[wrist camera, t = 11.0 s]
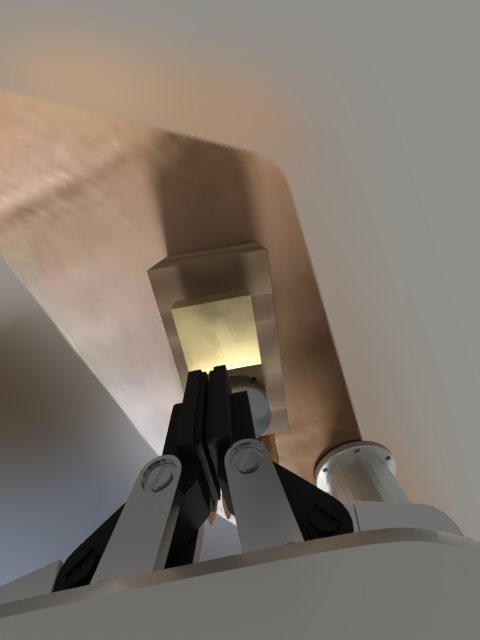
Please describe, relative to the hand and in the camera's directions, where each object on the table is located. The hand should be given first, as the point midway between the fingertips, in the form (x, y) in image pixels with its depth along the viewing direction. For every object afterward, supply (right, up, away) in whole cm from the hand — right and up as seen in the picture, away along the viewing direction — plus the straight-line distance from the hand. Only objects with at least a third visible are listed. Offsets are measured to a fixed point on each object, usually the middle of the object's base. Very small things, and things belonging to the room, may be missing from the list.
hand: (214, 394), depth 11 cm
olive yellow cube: (-1, +4, +9) cm, 10 cm away
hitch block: (0, +3, +18) cm, 18 cm away
